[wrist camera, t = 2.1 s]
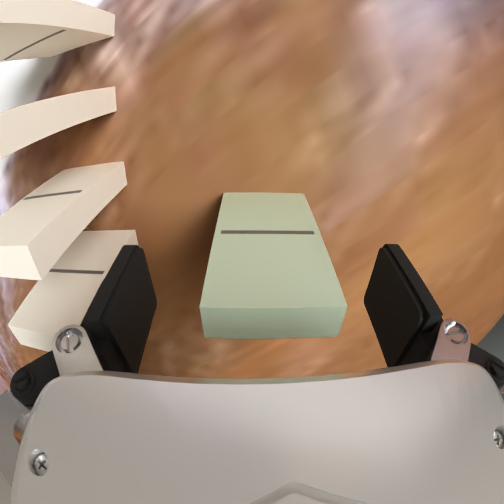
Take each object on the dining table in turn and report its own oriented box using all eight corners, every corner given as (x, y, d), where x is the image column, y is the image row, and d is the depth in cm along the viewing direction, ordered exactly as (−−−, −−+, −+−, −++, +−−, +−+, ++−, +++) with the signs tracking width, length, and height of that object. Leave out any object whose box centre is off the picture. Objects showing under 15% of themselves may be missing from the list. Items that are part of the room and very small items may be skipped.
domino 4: (139, 249, 20) (85, 359, 12) (84, 249, 20) (20, 344, 12) (135, 229, 19) (72, 338, 11) (78, 231, 19) (7, 324, 11)
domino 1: (114, 36, 12) (-6, 23, 3) (51, 57, 12) (-67, 76, 3) (114, 14, 11) (0, -15, 2) (51, 36, 11) (-65, 44, 2)
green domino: (301, 216, 19) (337, 336, 10) (224, 215, 19) (204, 338, 10) (303, 193, 18) (347, 305, 9) (223, 192, 18) (199, 306, 9)
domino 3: (127, 184, 17) (42, 280, 9) (68, 190, 17) (-21, 274, 9) (123, 161, 16) (27, 245, 8) (64, 169, 16) (-34, 246, 8)
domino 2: (116, 111, 15) (1, 159, 6) (55, 125, 14) (-55, 181, 6) (115, 86, 14) (-6, 113, 5) (53, 102, 14) (-62, 147, 5)
